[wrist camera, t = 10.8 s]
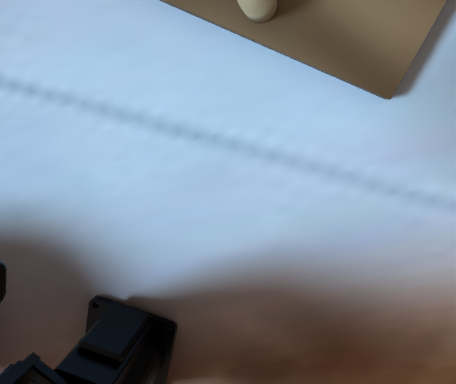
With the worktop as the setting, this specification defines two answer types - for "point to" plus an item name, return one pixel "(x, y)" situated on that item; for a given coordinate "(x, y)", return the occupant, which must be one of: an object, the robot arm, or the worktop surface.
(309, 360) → the worktop surface
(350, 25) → the peg stand
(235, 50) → the worktop surface
